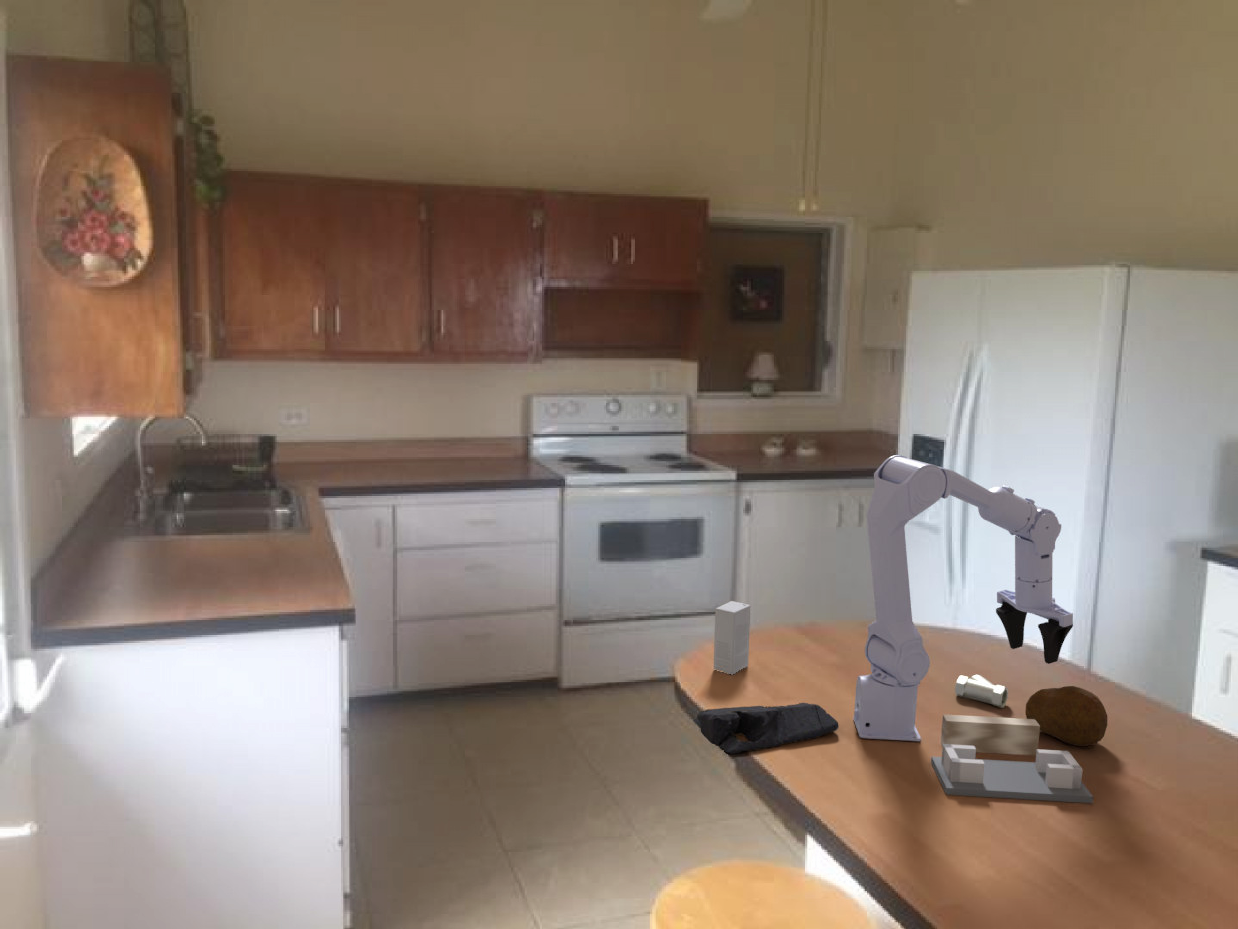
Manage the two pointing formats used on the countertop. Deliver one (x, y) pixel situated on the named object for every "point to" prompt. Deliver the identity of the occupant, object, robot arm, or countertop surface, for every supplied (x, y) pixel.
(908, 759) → the countertop surface
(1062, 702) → the potato
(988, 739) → the slat
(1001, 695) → the pipe fitting
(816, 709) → the black folded cloth
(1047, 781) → the board
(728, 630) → the skincare box
